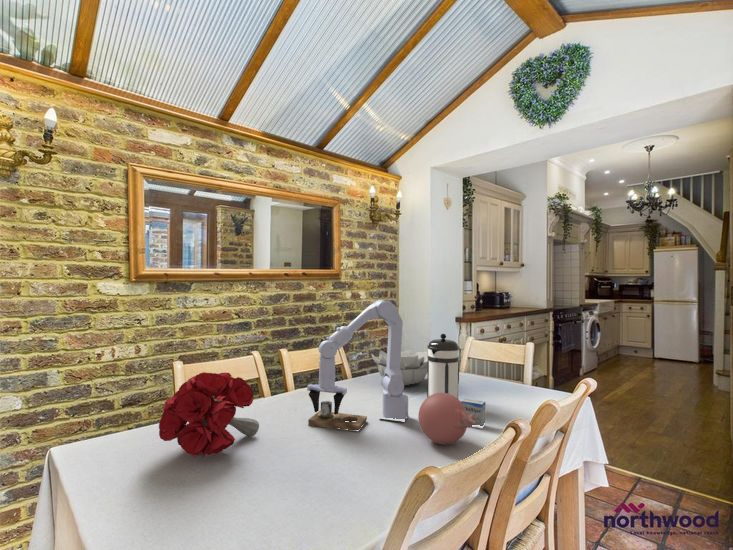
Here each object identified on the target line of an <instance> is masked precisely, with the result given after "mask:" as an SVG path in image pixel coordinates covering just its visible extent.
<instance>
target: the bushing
mask: <svg viewBox="0 0 733 550" xmlns="http://www.w3.org/2000/svg"><path fill="white" fill-rule="evenodd" d="M320 411H321V418H320V419H332V412H333V402H332V401H330V400H325V401H321V402H320Z"/></svg>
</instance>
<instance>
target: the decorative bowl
mask: <svg viewBox="0 0 733 550" xmlns="http://www.w3.org/2000/svg"><path fill="white" fill-rule="evenodd" d="M378 355H379V356H378V357H379V358H378V357H376V356H375V355H374V353H371V358H372V360H373V361H374V362H375V363H376V364H377V370H378V373H379V375H380V376H381V379H382V378H383V376H384V371H385V369H386V367H387V353H386V352H385V351H383V350H380V351H379V352H378ZM427 368H428V351H423V352H421V351H417V352H414V351H413V350H411V349H407V350H405V351H401V362H400V370H401V373H402V381H403V383H404V385H408V386H410V385H409V384H413V385H416V384H419V383H421V382H422V381H423V380H425V378H426V377H427ZM415 383H416V384H415Z"/></svg>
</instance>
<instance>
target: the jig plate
mask: <svg viewBox="0 0 733 550" xmlns="http://www.w3.org/2000/svg"><path fill="white" fill-rule="evenodd" d="M320 418H321V410H319V411H317V412H315V414H314V415H312V416H311V417H310V418H308V420H307V421H308V424H307V425H308V426H310V425H314V426H313V427H317V426H321V427H320V428H325V427H329V428H328V429H333V428H340V429H348V430H359V429H360V428H361V426H362V425H363V424H364V423H365V422H366V420H368V416H367V415H359V414H352V413H351V414H350V413H342V412H338V414H337V415H335V414H334V411H332V419H320ZM345 421H356V422H345ZM366 423H367V422H366ZM366 423H365V424H366ZM340 429H339V430H340ZM361 429H362V428H361ZM361 429H360V430H361ZM348 430H347V431H348ZM360 430H359V431H360Z"/></svg>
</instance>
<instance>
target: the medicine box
mask: <svg viewBox="0 0 733 550" xmlns="http://www.w3.org/2000/svg"><path fill="white" fill-rule="evenodd" d="M460 401H461V403H462V404H463V405H464V407H465V409H466V412H467V413H468V415H470V414H473V415H474V416H475V419H476V422H477V425H480V426H483V425H484V423H485V424H486V401H483V400H482V401H481V400H475V399H469V398H463V399H461V400H460Z"/></svg>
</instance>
